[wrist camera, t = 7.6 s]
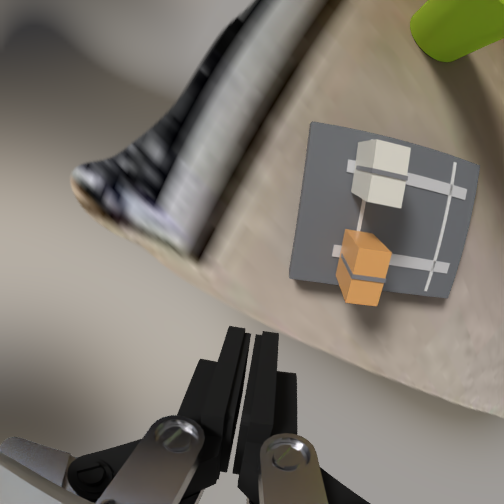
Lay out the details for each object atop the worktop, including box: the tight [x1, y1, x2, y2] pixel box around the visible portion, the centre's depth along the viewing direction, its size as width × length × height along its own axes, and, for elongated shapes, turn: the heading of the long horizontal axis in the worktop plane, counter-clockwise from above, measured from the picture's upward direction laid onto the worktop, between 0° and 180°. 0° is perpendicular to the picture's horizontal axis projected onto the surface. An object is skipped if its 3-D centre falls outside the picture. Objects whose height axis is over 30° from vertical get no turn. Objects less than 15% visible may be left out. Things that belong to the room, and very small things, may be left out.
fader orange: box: [336, 229, 392, 306], centre depth 21 cm, size 2×4×5 cm, turn 173°
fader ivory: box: [351, 139, 411, 208], centre depth 19 cm, size 2×4×5 cm, turn 173°
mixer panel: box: [289, 122, 480, 298], centre depth 24 cm, size 16×13×2 cm
